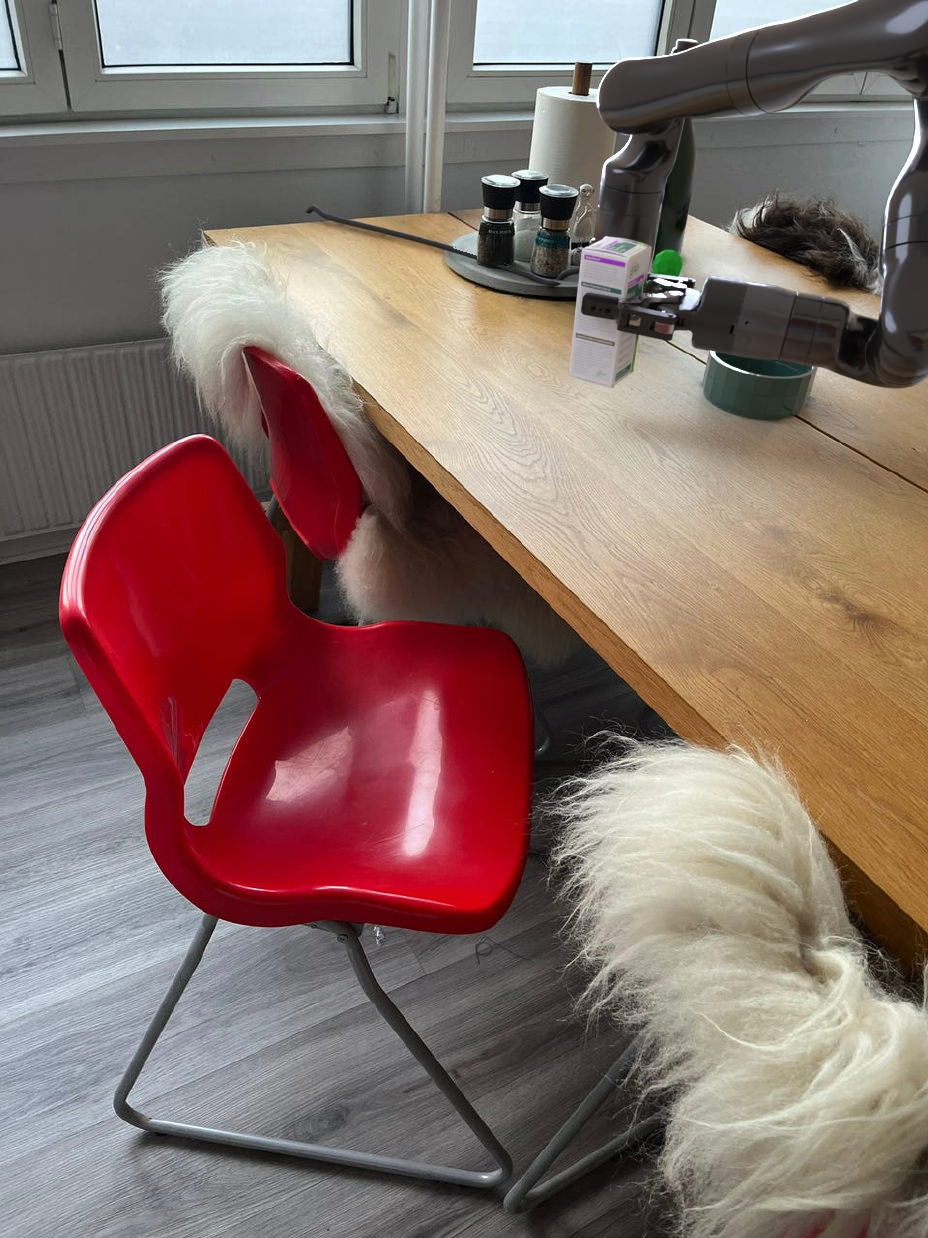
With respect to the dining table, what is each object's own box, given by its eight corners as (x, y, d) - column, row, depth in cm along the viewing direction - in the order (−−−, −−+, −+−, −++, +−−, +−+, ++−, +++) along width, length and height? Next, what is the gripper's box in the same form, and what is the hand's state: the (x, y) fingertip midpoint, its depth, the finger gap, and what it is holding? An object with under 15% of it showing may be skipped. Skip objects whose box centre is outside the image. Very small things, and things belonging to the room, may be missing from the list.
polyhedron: (684, 280, 158) (690, 250, 155) (673, 287, 155) (678, 257, 152) (656, 273, 160) (661, 244, 157) (645, 280, 157) (650, 251, 154)
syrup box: (612, 389, 105) (633, 256, 96) (565, 376, 108) (581, 245, 99) (633, 373, 109) (655, 244, 100) (587, 360, 112) (605, 233, 103)
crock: (693, 408, 117) (702, 365, 114) (708, 369, 128) (717, 330, 124) (801, 429, 114) (814, 386, 111) (808, 388, 124) (820, 348, 121)
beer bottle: (644, 264, 163) (681, 43, 143) (610, 247, 171) (641, 34, 151) (692, 259, 167) (735, 43, 147) (657, 242, 175) (693, 34, 155)
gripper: (759, 263, 103) (609, 240, 107) (743, 305, 92) (578, 277, 96) (743, 330, 107) (600, 306, 111) (726, 377, 96) (569, 348, 100)
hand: (590, 293), depth 103 cm, fingers closed on syrup box, 6 cm apart
